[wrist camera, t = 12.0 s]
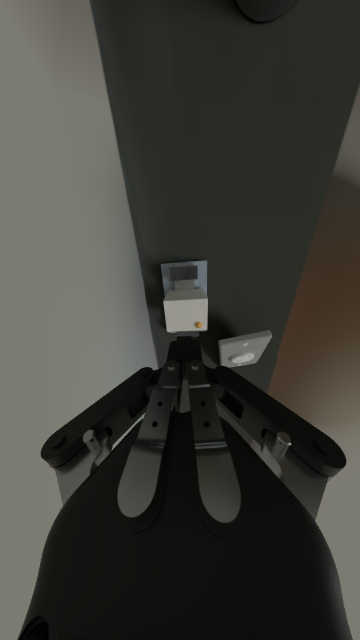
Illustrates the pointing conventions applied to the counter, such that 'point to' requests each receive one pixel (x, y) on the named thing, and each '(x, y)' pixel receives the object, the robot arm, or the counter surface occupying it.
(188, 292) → the block
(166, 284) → the plate
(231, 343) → the light switch
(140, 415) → the robot arm
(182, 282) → the din rail
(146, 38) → the counter surface
